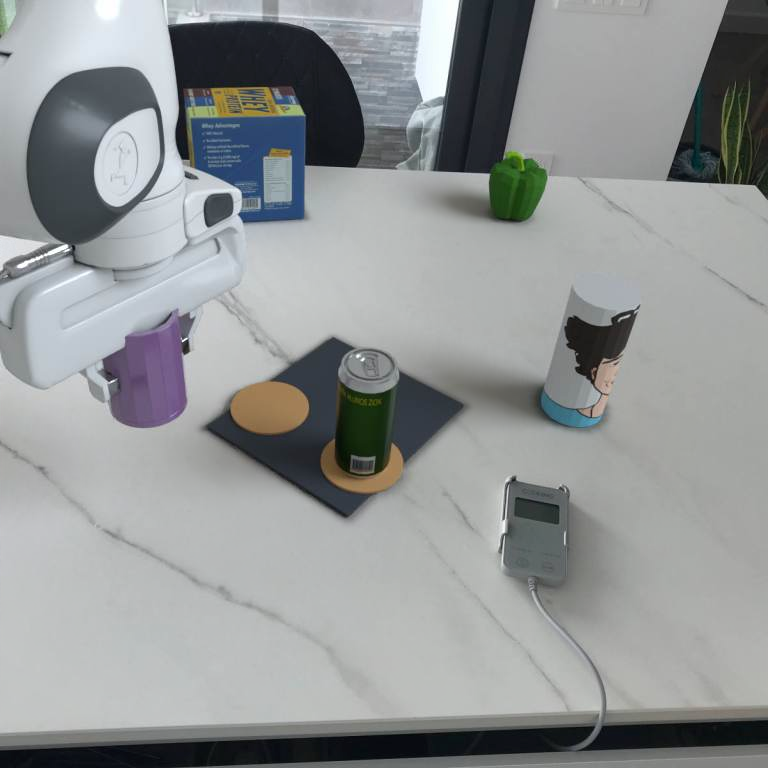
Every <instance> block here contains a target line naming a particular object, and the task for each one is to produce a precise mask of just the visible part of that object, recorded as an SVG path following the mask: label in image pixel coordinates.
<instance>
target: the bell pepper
mask: <svg viewBox="0 0 768 768" xmlns="http://www.w3.org/2000/svg"><path fill="white" fill-rule="evenodd" d="M504 155H505V158H503V159H502V160H501V162H496V163H494V164H493V166H492V167H491V169H490V170H489V171H490V172H489V178H488V193H489V194H488V195H489V196H488V197H489V205H490V208H491V211H492V213H493V215H494V216H496V217H497V218H499V219H503V220H504V219H505V220H510V219H512V220H515V221H518V222H523V221H526V220H527V221H528V220H529V219H530V218H531V217H532V216H533V214H534V213H535V211H536V209H537V207H538V205H539V204H540V202H541V199H542V197H543V195H544V193H545V191H546V187H547V183H548V171H547V169H545V168H543V167H539V164H538V163H537V161H535V159H534V158H533V157H530V158H524V157H523V155H522V154H520V152H518V151H514V150H513V151H512V150H509V151H506V152H504Z"/></svg>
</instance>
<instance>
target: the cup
mask: <svg viewBox="0 0 768 768" xmlns="http://www.w3.org/2000/svg"><path fill="white" fill-rule="evenodd" d="M643 298H644V297H643V293H642V291H641V290H640V288H638V286H637V285H635V283H634V282H631V281H630V280H629V279H626V278H624V277H622V276H619V275H617V274H613V273H609V272H603V271H591V272H586V273H585V272H584V273H582V274H580V275H578V276H577V277H575V278H574V280H573V282H572V284H571V288H570V292H569V295H568V298H567V299H568V300H567V302H566V306H565V309H564V314H563V317H562V321H561V324H560V328H559V332H558V335H557V339H556V342H555V346H554V350H553V354H552V357H551V361H550V365H549V368H548V371H547V376H546V379H545V381H544V386H543V390H542V393H541V398H540V405H541V408H542V410H543V411H544V413H545V414H546V415H547V416H548V417H549V418H550V419H552V420H553V421H555V422H556V423H559V424H561V425H564V426H567V427H572V428H588V427H590V426H594V425H596V424H597V423H598V422H599V421H600V420H601V418H602V416H603V413H604V410H605V407H606V406H607V405H606V404H607V402H608V399H609V396H610V393H611V391H612V387H613V384H614V382H615V379H616V376H617V373H618V370H619V368H620V366H621V365H620V364H621V362H622V359H623V356H624V353H625V350H626V347H627V344H628V343H629V338H630V336H631V334H632V330H633V328H634V324H635V322H636V319H637V316H638V313H639V310H640V307H641V304H642V301H643Z"/></svg>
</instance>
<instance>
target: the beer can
mask: <svg viewBox="0 0 768 768" xmlns="http://www.w3.org/2000/svg"><path fill="white" fill-rule="evenodd" d="M398 368H399V367H398V362H397V360H396V357H394V356H393V355H392V354H391V353H390V352H388V351H386V350H384V349H382V348H381V349H380V348H377V347H371V346H369V347H368V346H367V347H366V346H363V347H358V348H356V349H354V350H352V351H349V352H348V353H347V354H346V355H344V357H343V359H342V362H341V366H340V367H339V370H338V390H337V410H336V431H335V451H334V459H335V461H336V464H337V465H338V467H339V469H340V470H341V471H342V472H343V473H344V474H346V475H347V476H349V477H351V478H355V479H365V480H366V479H371V478H374V477H376V476H378V475H380V474H381V473H382V472H383V471H384V470H385V468H386V467H387V466H388V463H389V461H390V454H391V446H392V437H393V428H394V420H395V411H396V402H397V394H398V385H399V371H400V370H399V369H398Z"/></svg>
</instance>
